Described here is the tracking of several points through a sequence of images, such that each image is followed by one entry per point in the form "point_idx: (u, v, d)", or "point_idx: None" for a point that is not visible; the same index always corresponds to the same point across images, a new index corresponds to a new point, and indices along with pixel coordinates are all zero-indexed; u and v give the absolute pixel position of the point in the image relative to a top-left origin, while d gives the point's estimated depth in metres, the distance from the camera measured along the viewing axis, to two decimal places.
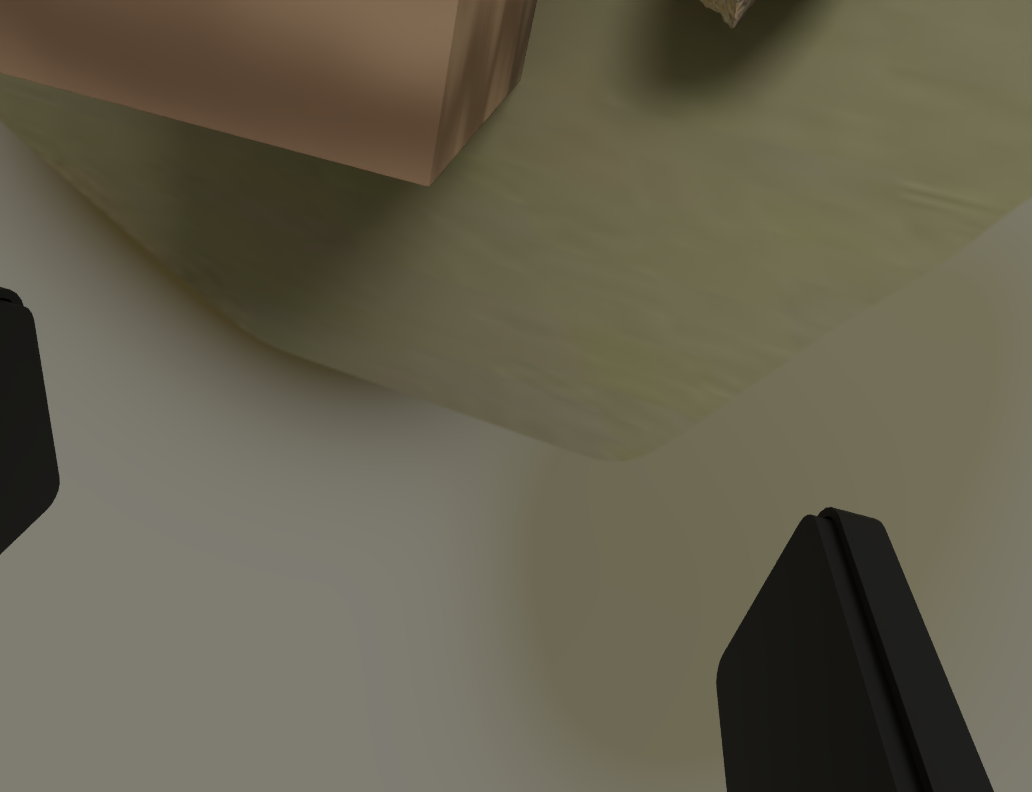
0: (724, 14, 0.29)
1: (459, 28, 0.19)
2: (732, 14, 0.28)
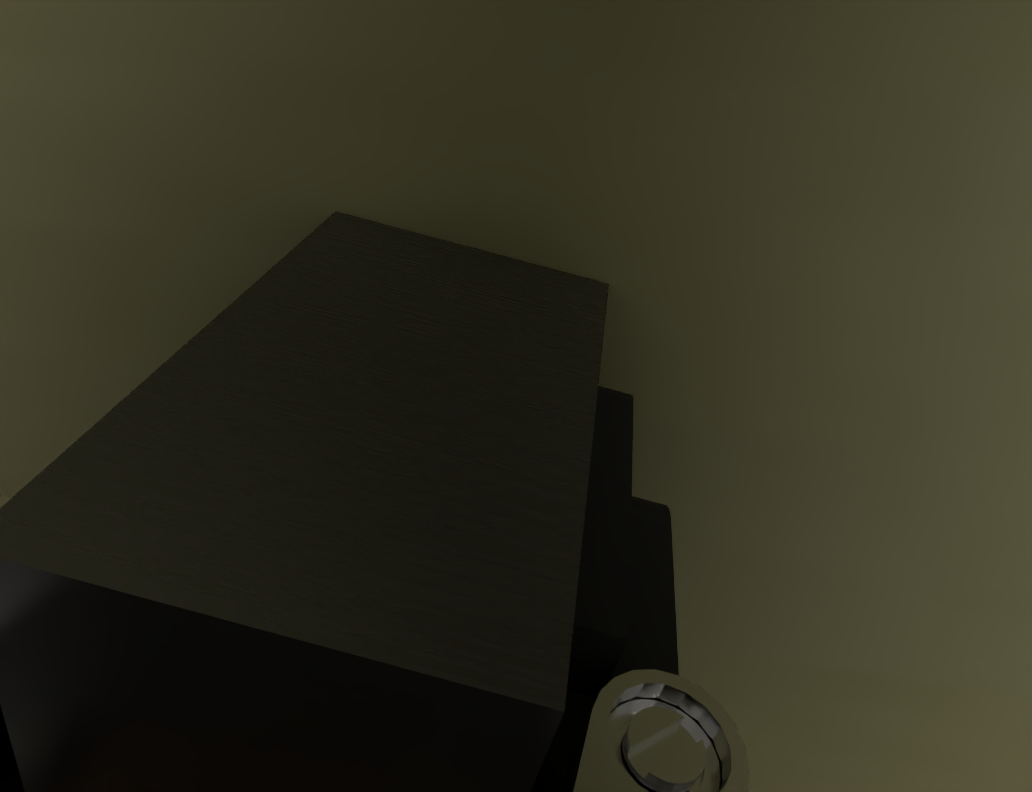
0: None
1: None
2: None
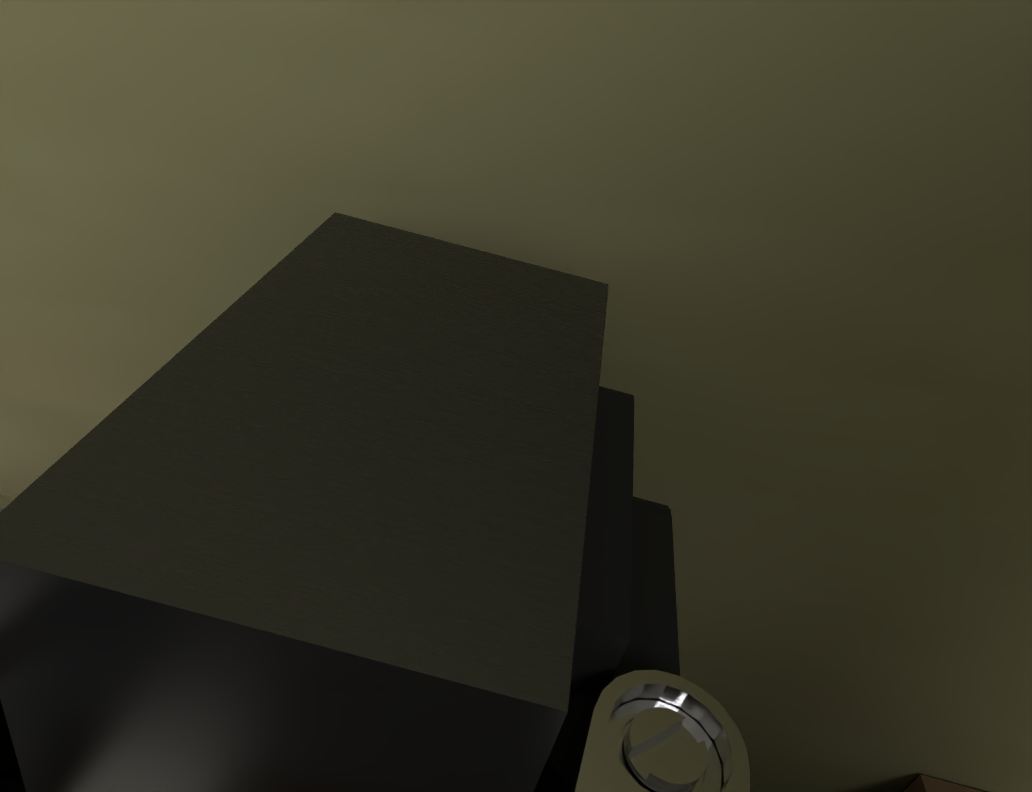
0: None
1: None
2: None
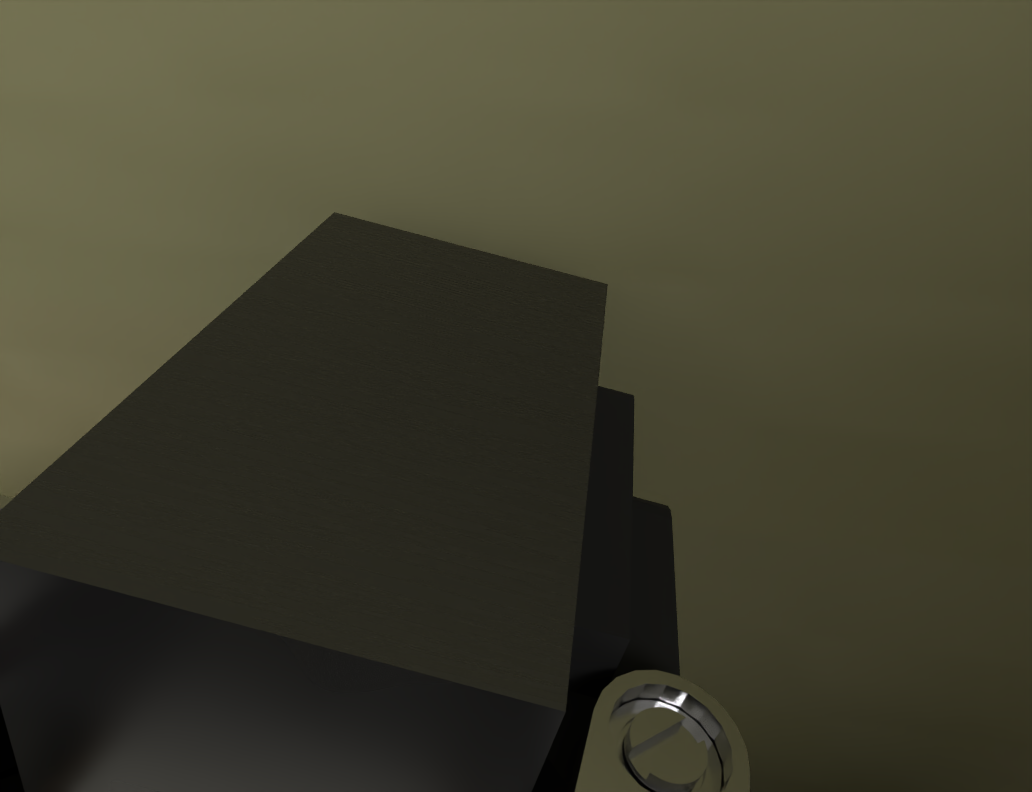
0: None
1: None
2: None
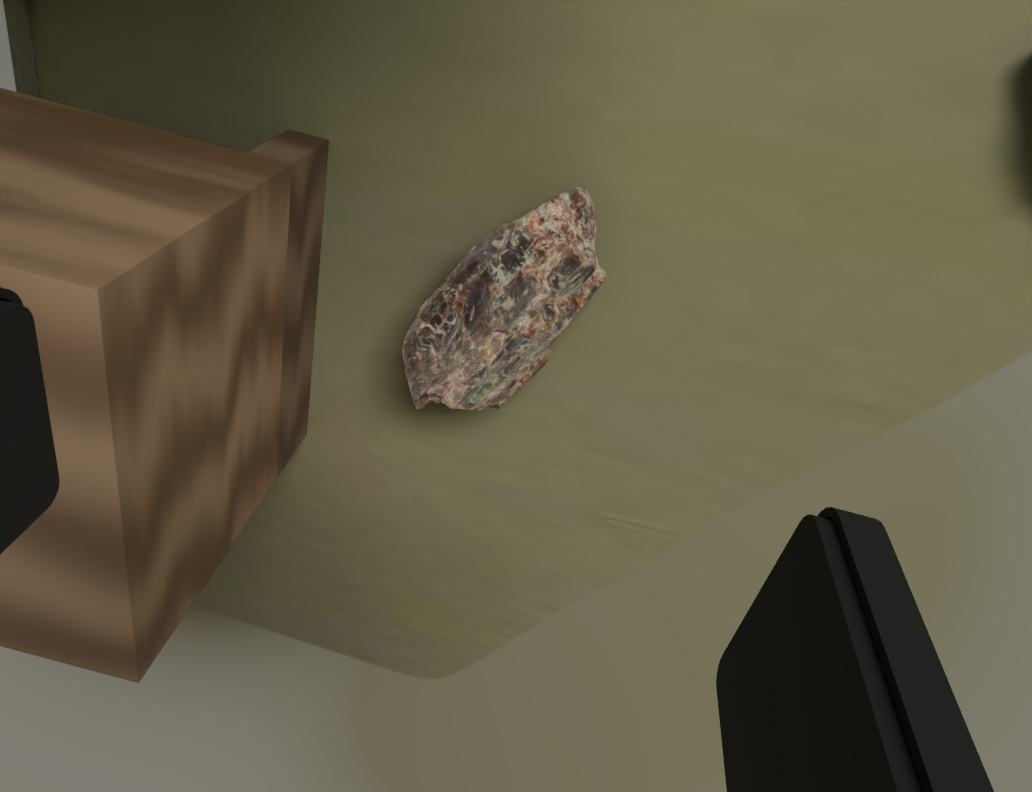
0: None
1: (143, 605, 0.29)
2: None
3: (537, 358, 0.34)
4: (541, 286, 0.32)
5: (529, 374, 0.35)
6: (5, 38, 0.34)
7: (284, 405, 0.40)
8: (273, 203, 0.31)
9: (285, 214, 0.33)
